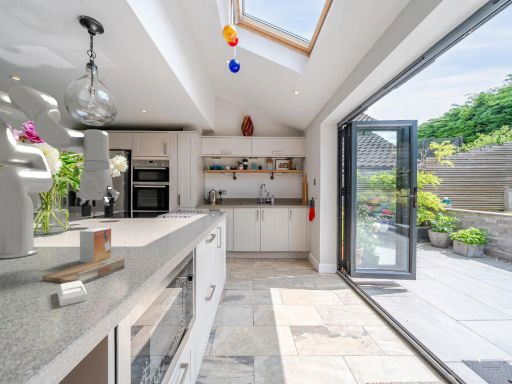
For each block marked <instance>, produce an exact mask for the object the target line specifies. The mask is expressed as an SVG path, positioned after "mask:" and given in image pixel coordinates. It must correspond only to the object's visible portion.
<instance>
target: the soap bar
mask: <svg viewBox="0 0 512 384" xmlns="http://www.w3.org/2000/svg"><path fill="white" fill-rule="evenodd" d="M56 293H57V298H58V303H59V307H65V306H67V305H72V304H76V303H82V302H85V301H86V302H87V301H88V292H87V290H86V288H85V286H84V284H82V282H81V281H80V280H79V281H74V282H68V283H60V284H59V285H58V286H57V287H56Z"/></svg>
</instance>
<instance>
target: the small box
mask: <svg viewBox="0 0 512 384" xmlns="http://www.w3.org/2000/svg"><path fill="white" fill-rule="evenodd" d="M111 257H112V228H111V227H110V228H109V227H96V228H92V229H86V230H80V231H79V262H80V263H87V262H90V261H95V262H100V261H103V260H107V259H110V258H111Z"/></svg>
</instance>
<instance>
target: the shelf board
mask: <svg viewBox="0 0 512 384" xmlns="http://www.w3.org/2000/svg"><path fill="white" fill-rule="evenodd" d="M123 269H125V258H124V257H123V258H122V257H120V258H118V259H116V260H112V261H109V262H103V261H101V262H100V261H97V262H95V261H90V262H83V263H81V264H78V265H74V266H71V267H68V268H64V269H61V270H59V271H58V270H57V271H54V272H52V273H49V274H45V275H42V281H49V282H56V283H60V284H63V283H68V282H74V281H79V280H80V281H81V282H82V284H83V285H86V284H88V283H90V282H93V281H95V280H98V279H100V278H103V277H106V276H108V275H111V274H113V273H116V272H118V271H120V270H123Z"/></svg>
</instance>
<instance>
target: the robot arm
mask: <svg viewBox="0 0 512 384" xmlns="http://www.w3.org/2000/svg"><path fill="white" fill-rule="evenodd" d="M0 116H2V117H6V118H10V119H13V120H17V121H32V122H33V129H34V131H35V134H36V136H38V137H39V138H40V139H41V140H42V141H44V142H45V143H46V144H47V145H48V146H49V147H51V148H53V149H56V150H58V151H63V152H70V153H74V154H75V153H76V154H83V155H82V157H83V159H82V160H83V166H82V167H83V170H82V171H81V175H80V181H79V190H78V191H77V192H76V193H75V195H76V197H77V200H78V202H79V205H80V206H81V217H82V218H86V217H91V216H92V206H91V204H90V203H92V201H101V200H102V201H103V203H104V204H105V205H104V208H103V209H104V211H103V215H104V218H105V219H106V218H112V217H114V206H115V205H116V202H117V201H118V198H119V195H120V192H119V191H117V189H114V188H113V187H114V186H113V178H112V173H111V171H110V136H109V134H108V132H107V131H105V130H100V129H86V130H84V132H83V131H79V130H76V129H72V128H68V127H64V126H62V125H61V124H59V122H60V120H61V118H62V117H61V112H60V110H59V106H58V102H57V100H56V99H55V97H53V96H51V94H48V93H45V92H43V91H40V90H37V89H35V88H32V87H30V86H25V85H15V86H13V87H11V88H10V89H9V90H8V93H6V92H4V91H1V90H0ZM46 159H47V158H46V157H45V154H44V153H43V151H42V150H41V149H40V148H39V147H38V146H36V145H35V144H31V143H26V142H21V141H19V140H17V138H16V137H15V135H14V132H13V130H12V128H11V126H9V124H8V123H7V122H6V121H5V120H4V119H2V118H1V117H0V166H3V167H2V168H0V259H14V258H21V257H27V256H32V255H35V254H38V253H39V252H40V248H39V247H36V246H34V245H35V242H34V235H35V234H34V223H35V222H34V217H35V216H34V215H35V214H34V203H33V200H32V198H31V197H30V195H28V194H39V193H40V194H42V193H46V192H49V191H50V190H51V189H52V187H53V185H54V177H53V174H52V171H51V169H50V167H49V164H48V162H47V160H46Z"/></svg>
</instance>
